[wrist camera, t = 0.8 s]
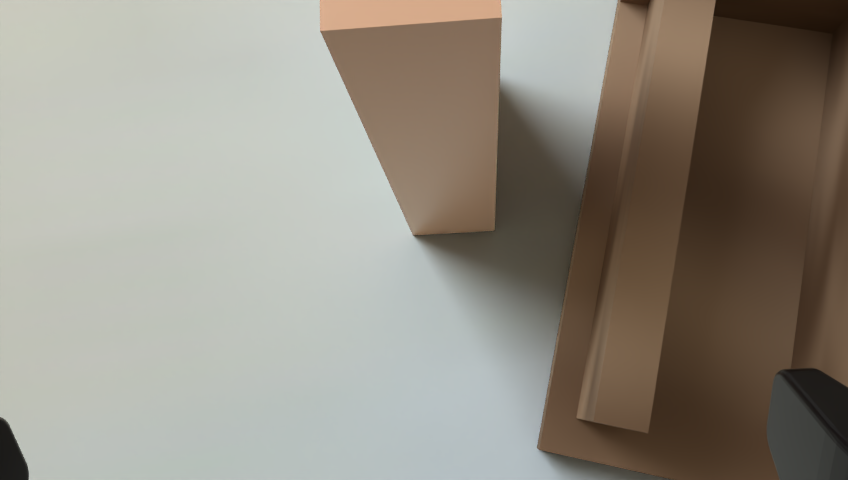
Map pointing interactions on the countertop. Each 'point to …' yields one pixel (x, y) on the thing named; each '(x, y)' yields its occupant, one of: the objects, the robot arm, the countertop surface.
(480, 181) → the clay strip
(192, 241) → the countertop surface
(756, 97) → the drying rack
